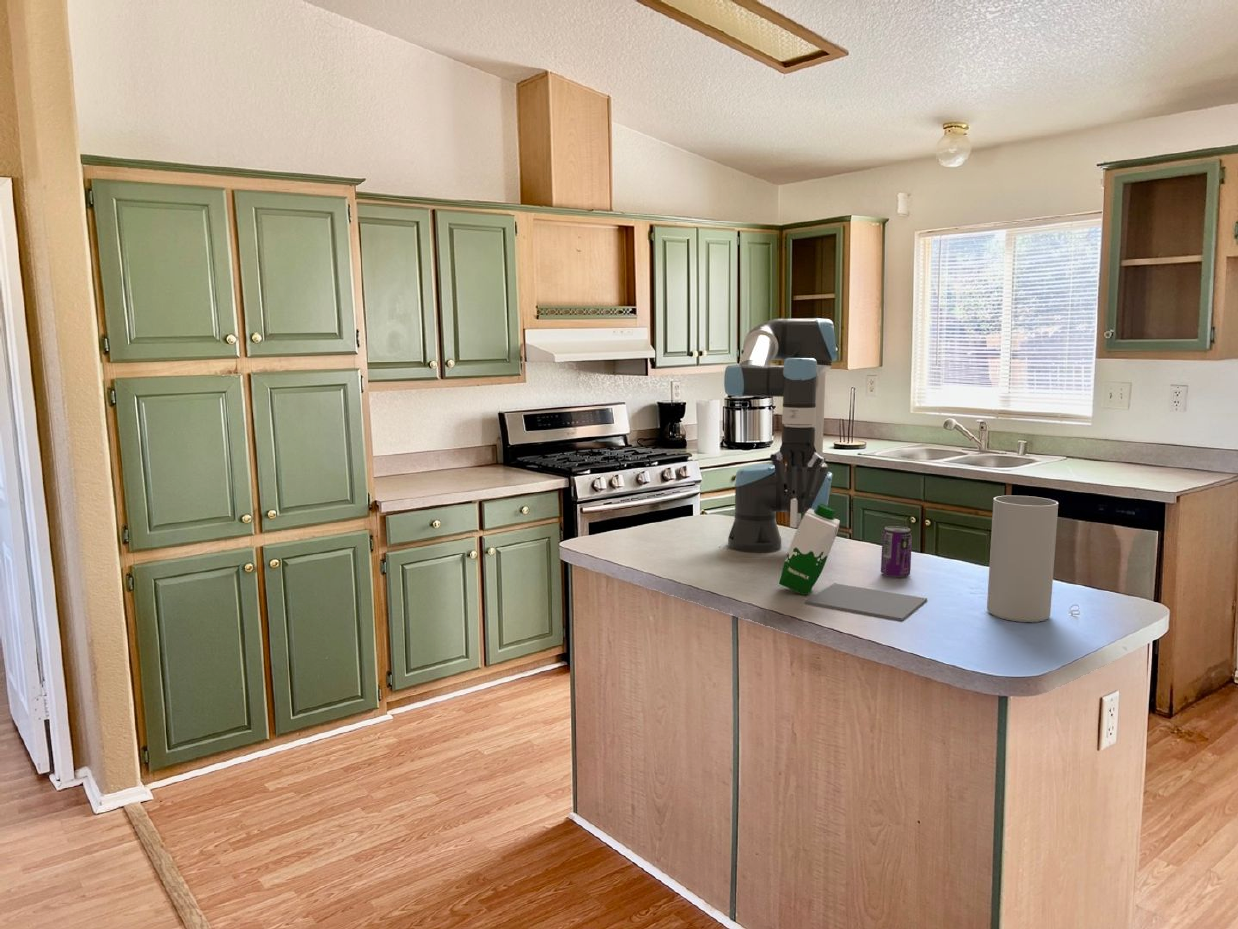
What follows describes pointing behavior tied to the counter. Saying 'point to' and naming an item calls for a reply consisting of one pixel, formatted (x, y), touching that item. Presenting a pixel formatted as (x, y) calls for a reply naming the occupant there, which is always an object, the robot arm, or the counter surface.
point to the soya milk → (809, 549)
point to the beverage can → (896, 552)
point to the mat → (867, 601)
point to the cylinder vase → (1022, 558)
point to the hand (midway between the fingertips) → (795, 526)
